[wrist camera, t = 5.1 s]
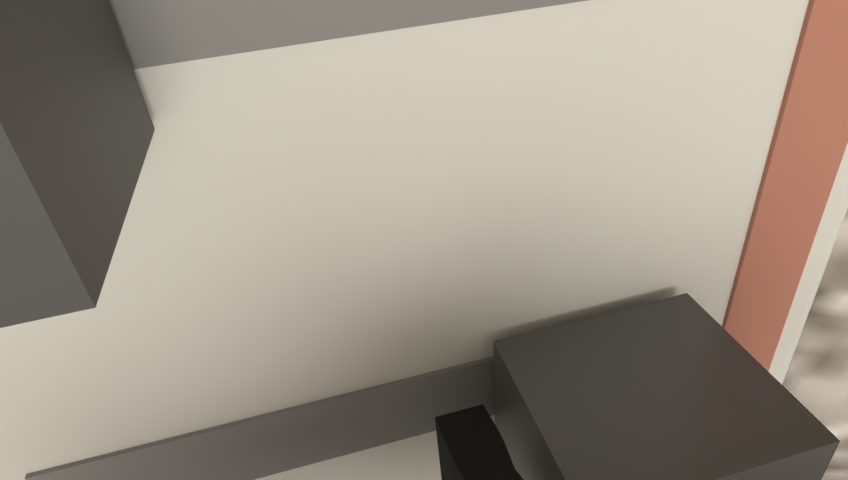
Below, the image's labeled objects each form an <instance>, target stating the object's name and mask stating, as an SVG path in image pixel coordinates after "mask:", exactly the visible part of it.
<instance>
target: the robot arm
mask: <svg viewBox="0 0 848 480" xmlns="http://www.w3.org/2000/svg"><path fill="white" fill-rule="evenodd" d="M435 424H436V433H437V442H438V451H439V460H440V469H441V478H442V480H524V479H523V478H522V477H521V476H520V474H519V473H518V472H517V471H516V469H515V468H514V465H513V463H512V460H511V457H510V455H509V452H508V450H507V447H506V445H505V442H504V440H503V438H502V436H501V434H500V432H499V431H498V429H497V427H496V425H495V423H494V422H493V420H492V418H491V417H490V415H489V413H488V412H487V410H486V408H485V407H484V405H483V404H482V405H478V406H474V407H471V408H467V409H463V410H459V411H456V412H452V413H448V414H444V415H441V416H437V417H435Z"/></svg>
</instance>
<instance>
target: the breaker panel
mask: <svg viewBox="0 0 848 480" xmlns="http://www.w3.org/2000/svg"><path fill="white" fill-rule="evenodd" d="M847 208H848V0H0V480H442V478H441V469H440V460H439V451H438V442H437V433H436V424H435V417H437V416H441V415H444V414H448V413H452V412H456V411H459V410H463V409H467V408H471V407H474V406H478V405H482V404H483V405H484V407H485V408H486V410H487V412H488V413H489V415H490V417H491V418H492V420H493V422H494V423H495V398H494V355H493V341H496V340H500V339H504V338H508V337H512V336H516V335H520V334H524V333H528V332H532V331H536V330H540V329H544V328H548V327H552V326H556V325H560V324H564V323H568V322H572V321H576V320H580V319H584V318H588V317H592V316H597V315H601V314H605V313H609V312H613V311H617V310H621V309H625V308H629V307H633V306H637V305H641V304H645V303H649V302H653V301H657V300H661V299H665V298H669V297H673V296H677V295H681V294H685V293H688V294H689V295H690V296H691V297H692V298H693V299H694V300H695V301H696V302H697V303H698V304H699V305H700V306H701V307H702V308H703V309H704V310H705V311H706V312H707V313H708V314H709V315H710V316H711V317H712V318H713V319H715V320H716V321H717V322H718V323H719V324H720V325H721V326H722V327H723V328H724V329H725V330H726V331H727V332H728V333H729V334H730V335H731V336H732V337H733V338H734V339H735V340H736V341H737V342H738V343H739V344H740V345H741V346H742V347H743V348H744V349H745V350H747V351H748V352H749V353H750V354H751V355H752V356H753V357H754V358H755V359H756V360H757V361H758V362H759V363H760V364H761V365H762V366H763V367H764V368H765V369H766V370H767V371H768V372H769V373H770V374H771V375H772V376H773V377H774V378H775V379H776V380H777V381H778V382H780V383H781V384H782V383H783V381H784V378H785V375H786V373H787V370H788V367H789V364H790V362H791V359H792V356H793V354H794V351H795V348H796V346H797V343H798V340H799V338H800V335H801V332H802V329H803V327H804V324H805V321H806V319H807V316H808V313H809V311H810V308H811V305H812V303H813V300H814V297H815V294H816V292H817V289H818V286H819V284H820V281H821V278H822V276H823V273H824V270H825V268H826V265H827V262H828V259H829V257H830V254H831V251H832V249H833V246H834V243H835V241H836V238H837V235H838V232H839V230H840V227H841V224H842V222H843V219H844V216H845V214H846V211H847Z"/></svg>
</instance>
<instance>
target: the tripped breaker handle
mask: <svg viewBox="0 0 848 480" xmlns="http://www.w3.org/2000/svg"><path fill="white" fill-rule="evenodd" d="M493 355H494V398H495V425H496V427H497V429H498V431H499V432H500V434H501V436H502V438H503V440H504V442H505V445H506V447H507V450H508V452H509V455H510V457H511V460H512V463H513V465H514V468H515V469H516V471H517V472H518V473H519V474H520V476H521V477H522V478H523V479H524V480H821V479H822V477H823V475H824V473H825V471H826V469H827V467H828V464H829V462H830V460H831V458H832V456H833V454H834V452H835V450H836V448H837V446H838V444H839V442H840V441H839V440H838V439H837V438H836V437H835V436H834V435H833V434H832V433H831V432H830V431H829V430H828V429H827V428H826V427H825V426H824V425H823V424H822V423H821V422H820V421H819V420H818V419H817V418H816V417H815V416H814V415H813V414H812V413H810V412H809V411H808V410H807V409H806V408H805V407H804V406H803V405H802V404H801V403H800V402H799V401H798V400H797V399H796V398H795V397H794V396H793V395H792V394H791V393H790V392H789V391H788V390H787V389H786V388H785V387H784V386H783V385H782V384H781V383H780V382H778V381H777V380H776V379H775V378H774V377H773V376H772V375H771V374H770V373H769V372H768V371H767V370H766V369H765V368H764V367H763V366H762V365H761V364H760V363H759V362H758V361H757V360H756V359H755V358H754V357H753V356H752V355H751V354H750V353H749V352H748V351H747V350H745V349H744V348H743V347H742V346H741V345H740V344H739V343H738V342H737V341H736V340H735V339H734V338H733V337H732V336H731V335H730V334H729V333H728V332H727V331H726V330H725V329H724V328H723V327H722V326H721V325H720V324H719V323H718V322H717V321H716V320H715V319H713V318H712V317H711V316H710V315H709V314H708V313H707V312H706V311H705V310H704V309H703V308H702V307H701V306H700V305H699V304H698V303H697V302H696V301H695V300H694V299H693V298H692V297H691V296H690V295H689V294H688V293H685V294H681V295H677V296H673V297H669V298H665V299H661V300H657V301H653V302H649V303H645V304H641V305H637V306H633V307H629V308H625V309H621V310H617V311H613V312H609V313H605V314H601V315H597V316H592V317H588V318H584V319H580V320H576V321H572V322H568V323H564V324H560V325H556V326H552V327H548V328H544V329H540V330H536V331H532V332H528V333H524V334H520V335H516V336H512V337H508V338H504V339H500V340H496V341H493Z"/></svg>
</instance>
